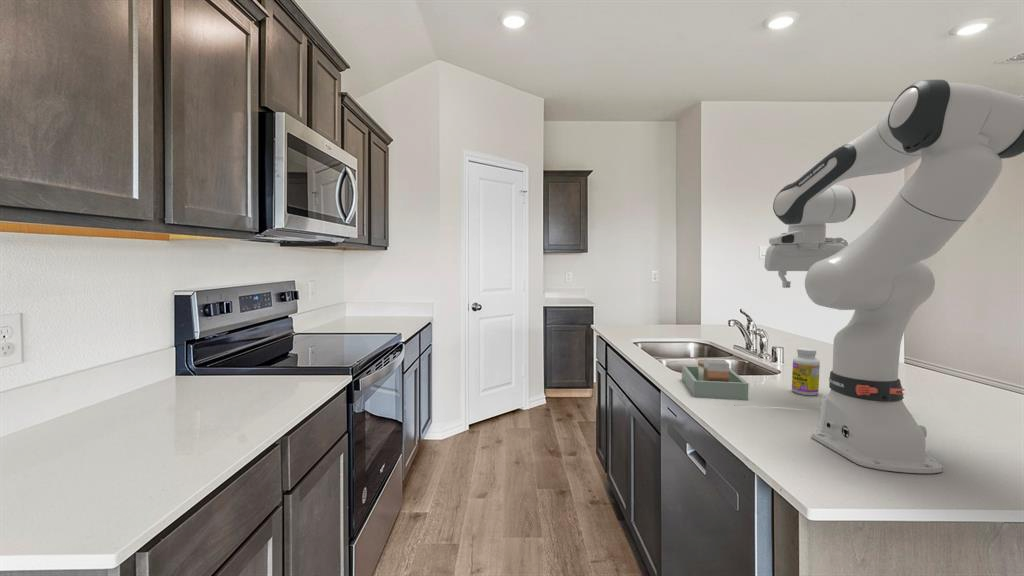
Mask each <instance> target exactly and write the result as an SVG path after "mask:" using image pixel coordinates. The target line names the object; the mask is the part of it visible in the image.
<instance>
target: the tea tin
mask: <svg viewBox="0 0 1024 576" xmlns="http://www.w3.org/2000/svg"><path fill="white" fill-rule="evenodd" d="M703 360H704V378H703V379H704V381H718V382H729V368H730V363H729V362H728V361H726V360H725V359H711V358H704V359H703Z"/></svg>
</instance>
